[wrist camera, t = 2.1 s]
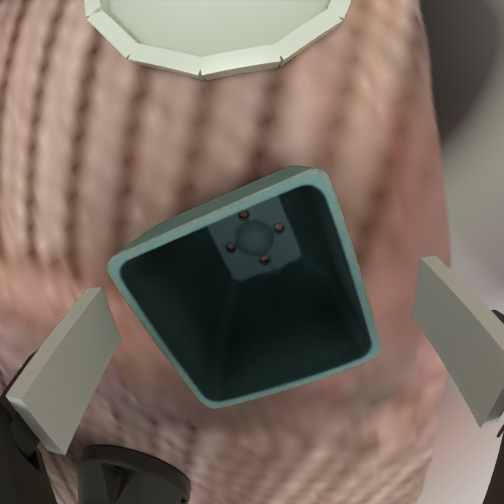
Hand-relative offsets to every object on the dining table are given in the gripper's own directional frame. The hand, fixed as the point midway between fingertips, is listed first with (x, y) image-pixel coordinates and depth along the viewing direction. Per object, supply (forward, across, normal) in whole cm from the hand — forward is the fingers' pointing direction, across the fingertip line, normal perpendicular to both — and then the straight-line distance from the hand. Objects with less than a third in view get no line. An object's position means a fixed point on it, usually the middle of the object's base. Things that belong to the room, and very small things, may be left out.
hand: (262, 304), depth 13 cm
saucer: (+9, +1, -18) cm, 20 cm away
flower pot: (+9, 0, 0) cm, 9 cm away
